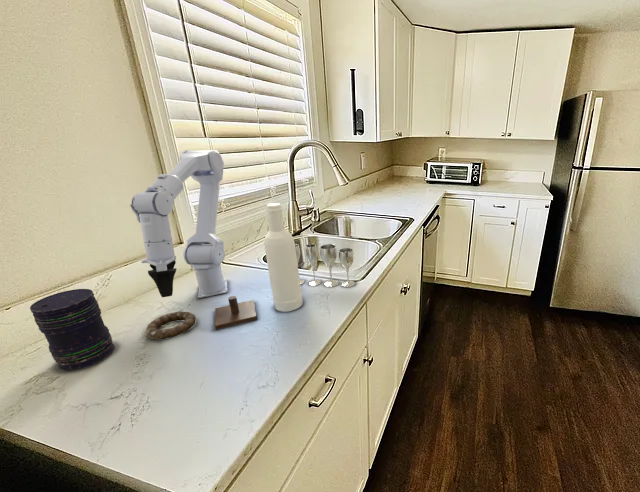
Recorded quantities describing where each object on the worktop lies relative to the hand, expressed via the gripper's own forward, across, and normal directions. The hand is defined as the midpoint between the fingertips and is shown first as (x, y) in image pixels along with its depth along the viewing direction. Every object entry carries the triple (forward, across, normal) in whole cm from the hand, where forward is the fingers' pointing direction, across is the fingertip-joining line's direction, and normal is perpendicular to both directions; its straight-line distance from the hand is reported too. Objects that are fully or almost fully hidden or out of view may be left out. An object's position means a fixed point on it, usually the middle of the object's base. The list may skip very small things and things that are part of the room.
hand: (167, 292), depth 84 cm
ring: (+8, +2, 0) cm, 8 cm away
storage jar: (+11, +4, -16) cm, 20 cm away
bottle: (+8, +8, +28) cm, 30 cm away
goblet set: (+6, -1, +40) cm, 40 cm away
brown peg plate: (+8, +5, +15) cm, 18 cm away
